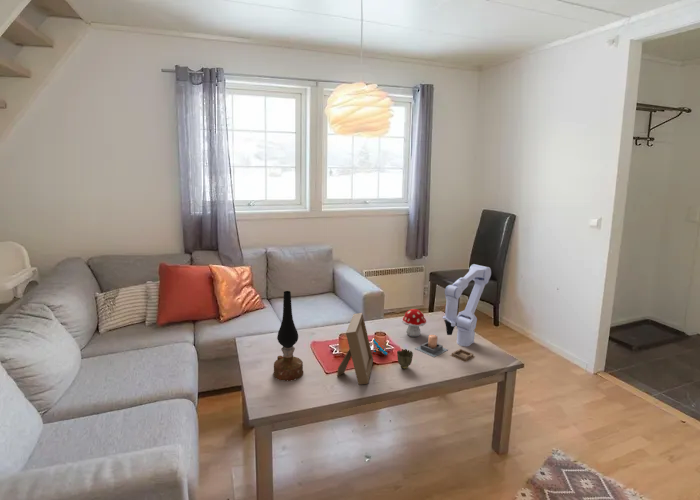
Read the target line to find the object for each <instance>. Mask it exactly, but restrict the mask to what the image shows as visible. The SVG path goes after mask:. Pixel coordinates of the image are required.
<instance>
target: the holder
mask: <svg viewBox="0 0 700 500" xmlns="http://www.w3.org/2000/svg"><path fill="white" fill-rule="evenodd" d="M449 356H450V357H452V358H454V359H456V360H459V361H461V362H463V363H466V362H469V361H470V360H472V359H474V358H475V357H476V355H474V353H473V352H469V351H466V350H465V349H462V348H459V349H457V350H455V351H454V352H452V353H450V354H449Z"/></svg>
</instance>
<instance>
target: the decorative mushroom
mask: <svg viewBox="0 0 700 500" xmlns="http://www.w3.org/2000/svg"><path fill="white" fill-rule="evenodd" d="M401 323H402V324H403V325H405V326H407V327H406V331H405V332H406V334H407V336H408V337H412V338H413V337H414V338H416V337H419V336H420V335H421V328H420V327H423V326H425V325H426V324H427V319H426V318H425V315H424V313H423V312H422V311H421V310H420V309H417V308H410V309H407V311H405V313H404V316H403V317H402V318H401Z"/></svg>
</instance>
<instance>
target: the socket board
mask: <svg viewBox="0 0 700 500" xmlns="http://www.w3.org/2000/svg"><path fill="white" fill-rule="evenodd" d="M443 346H444V345H442V344H439V343H437V347H436V348H434V349H431V348H429V347H428V341H426V342H425V343H422V344H420V345H419V346H417V347H415V348H414V350H417V351H419V352H421V353H422V354H423V353H424V354H426V355H428V356H430V357H433V358H437V356H440V355H441V354H443V353H445V352H448V350H449V349H448V348H445V347H443Z"/></svg>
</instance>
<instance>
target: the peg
mask: <svg viewBox="0 0 700 500" xmlns="http://www.w3.org/2000/svg"><path fill="white" fill-rule="evenodd" d="M427 342H428V347H429V348H431V349H434V348H436V347H437V344H438V335H437V334H436V335H435V334H429V335H428V341H427Z"/></svg>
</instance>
